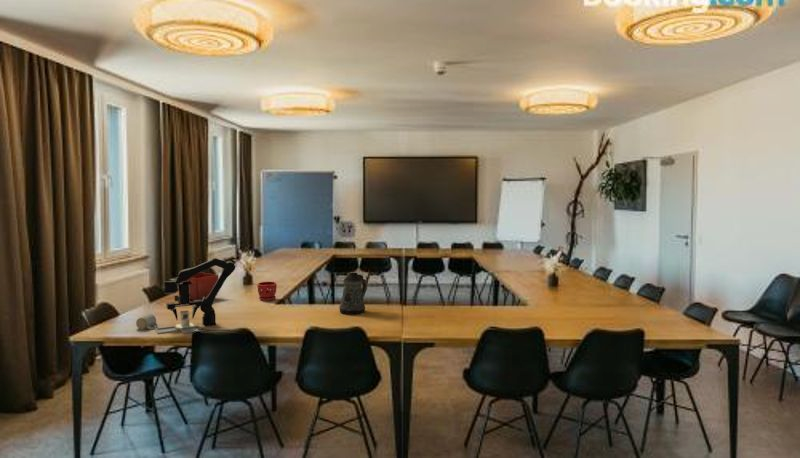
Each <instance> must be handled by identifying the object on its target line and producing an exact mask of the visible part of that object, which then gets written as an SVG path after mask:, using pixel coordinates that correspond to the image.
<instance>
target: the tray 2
mask: <svg viewBox="0 0 800 458" xmlns="http://www.w3.org/2000/svg"><path fill="white" fill-rule="evenodd" d="M196 329H202V328H201V326H199V325H197V326H196V325H194V327H185V328H179V331H180V332H181V334H183V335H185V334H193V333H192V332H193V331H194V330H196Z"/></svg>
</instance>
